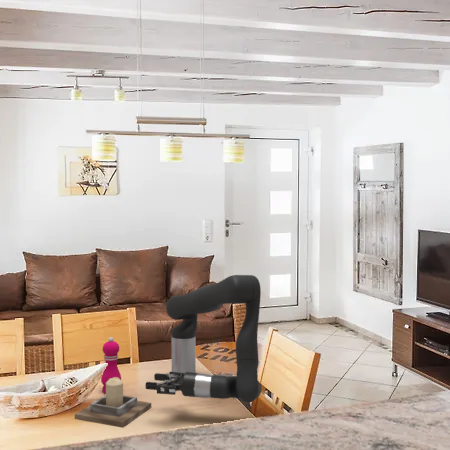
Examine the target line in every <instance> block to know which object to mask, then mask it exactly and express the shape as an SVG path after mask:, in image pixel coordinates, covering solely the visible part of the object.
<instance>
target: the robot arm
mask: <svg viewBox="0 0 450 450" xmlns="http://www.w3.org/2000/svg"><path fill="white" fill-rule="evenodd" d="M261 293H262V292H261V284H260V280H259V278H258V277H257V276H255V275H253V274H235V275H234V274H233V275H230V276H227V277H226V278H224V279H222V280H220V281H218V282H216V283H212V284H207V285H205V286H202V287H200V288H197V289H196V288H195V289H194V290H191V291H189V292H188V293H187V292H186V293H185V294H177V295H171V296H170V298H169V299H168V300H167V302H166V305H165V307H166V308H165V309H166V310H165V311H166V314H167V315H168V317H170V318H171V319H172V320H175V321H178V320H182V321H181V322H180V323H179V324H178V325H176V326H175V327H173V328H171V371H169V372H167V373H159V372H155V373H154V381H158V382H154V381H153V382H152V381H146V382H145V384H144V385H145V390H149V391H150V390H152V391H156V394H159V395H170V396H171V395H176V392H181V393H182V396H183V397H190V398H191V397H192V398H201V399H207V398H209V399H210V398H211V399H223V400H224V399H229V398H232V399H239V400H241V401H242V402H244V403H252V402H254V401H255V400H257V399H258V398H259V397H260V395H261V393H262V390H263V389H262V384H261V383H260V381H259V380H258V368H259V362H260V361H259V348H258V346H259V345H258V330H259V329H258V328H259V319H260V307H261ZM226 304H228V305H229V304H232V305H233V304H235V305H239V304H240V305H241V304H243V305H244V304H245V316H244V320H243V323H242V325H241V328H240V330H239V332H238V334H237V337H236V341H235V358H236V376H227V375H219V374H218V375H215V374H210V373H203V372H202V373H201V372H197V371H196V368H197V367H196V363H197V362H196V361H197V360H196V351H197V349H196V342H197V341H196V336H197V335H196V332H197V329H198V316H199V315H198V314H207V313H212V312H215V311H218V310H219V309H221V308H222V306H223V305H226Z"/></svg>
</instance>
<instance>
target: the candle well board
mask: <svg viewBox="0 0 450 450" xmlns="http://www.w3.org/2000/svg"><path fill="white" fill-rule="evenodd" d="M151 408H152V402H148V401H141V400H138V397H135V396H129V395H125V394H123V405H122V406H120V407H119V408H118V407H112V406H106V394H105V395H103V396H102V397H100V398H98V399H96V400H95V401H93V402H92V403H90V404H89V405H88V406H86V407H84V408H82V409H81V410H79V411H77V412H76V413H74V419H75V420H82V421H86V422H91V421H92V422H93V423H97V424H103V425H110V426H115V427H120V428H125V427H126V426H127V425H129V424H130V423H131V422H133V421H134V420H135V419H137V418H138V417H139V416H141V415H142V414H144V413H145V412H147V411H148V410H150V409H151Z"/></svg>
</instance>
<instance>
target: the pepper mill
mask: <svg viewBox="0 0 450 450" xmlns="http://www.w3.org/2000/svg"><path fill="white" fill-rule="evenodd" d="M107 340H108V341H106V342H105V343H104V344H103V346H102V353H103V354H104V355H103V359H104V360H105V363H108V366H107V367H106V369H105V368H104V369H105V370H104V369H103V371H102V374H103V375H102V374H101V377H100V378H101V379H100V382H101V384H102V393H104V394H105V395H106V382H107V381H108V380H109V379H110V378H113V377H118V378H119V379H120V380H121V381H122V374H121V372H120V369H119V368H118V367H119V366H118V358H119V354H118V353H119V352H120V345H119V343H118V342H117V341H114V337H112V336H110V337H108V339H107Z"/></svg>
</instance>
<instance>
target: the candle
mask: <svg viewBox="0 0 450 450" xmlns="http://www.w3.org/2000/svg"><path fill="white" fill-rule="evenodd" d="M105 395H106V406H112V407H118V408H119V407H120V406H122V405H123V395H124V382H123V381H122V379H121V380H120V379H119V378H118V377H113V378H110V379H109V380H108V381H107V382H106V394H105Z"/></svg>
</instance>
